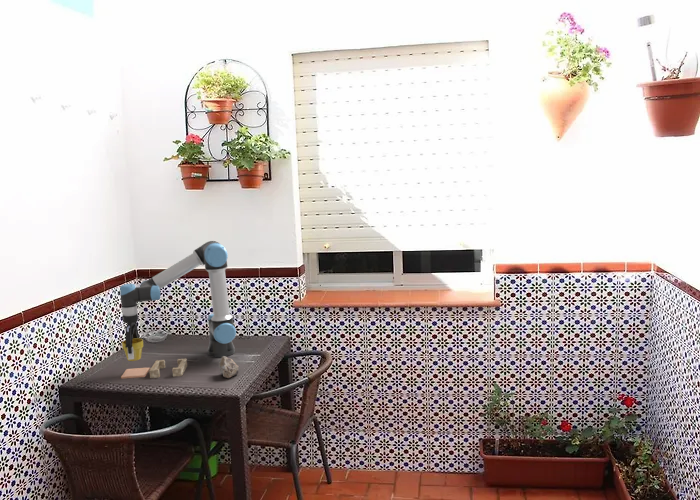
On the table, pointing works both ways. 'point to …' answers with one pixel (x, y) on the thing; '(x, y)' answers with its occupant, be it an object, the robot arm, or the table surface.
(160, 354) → the table surface
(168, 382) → the table surface
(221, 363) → the rock
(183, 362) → the flower pot holder
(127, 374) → the tile
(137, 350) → the plant pot
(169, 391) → the table surface
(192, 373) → the table surface
